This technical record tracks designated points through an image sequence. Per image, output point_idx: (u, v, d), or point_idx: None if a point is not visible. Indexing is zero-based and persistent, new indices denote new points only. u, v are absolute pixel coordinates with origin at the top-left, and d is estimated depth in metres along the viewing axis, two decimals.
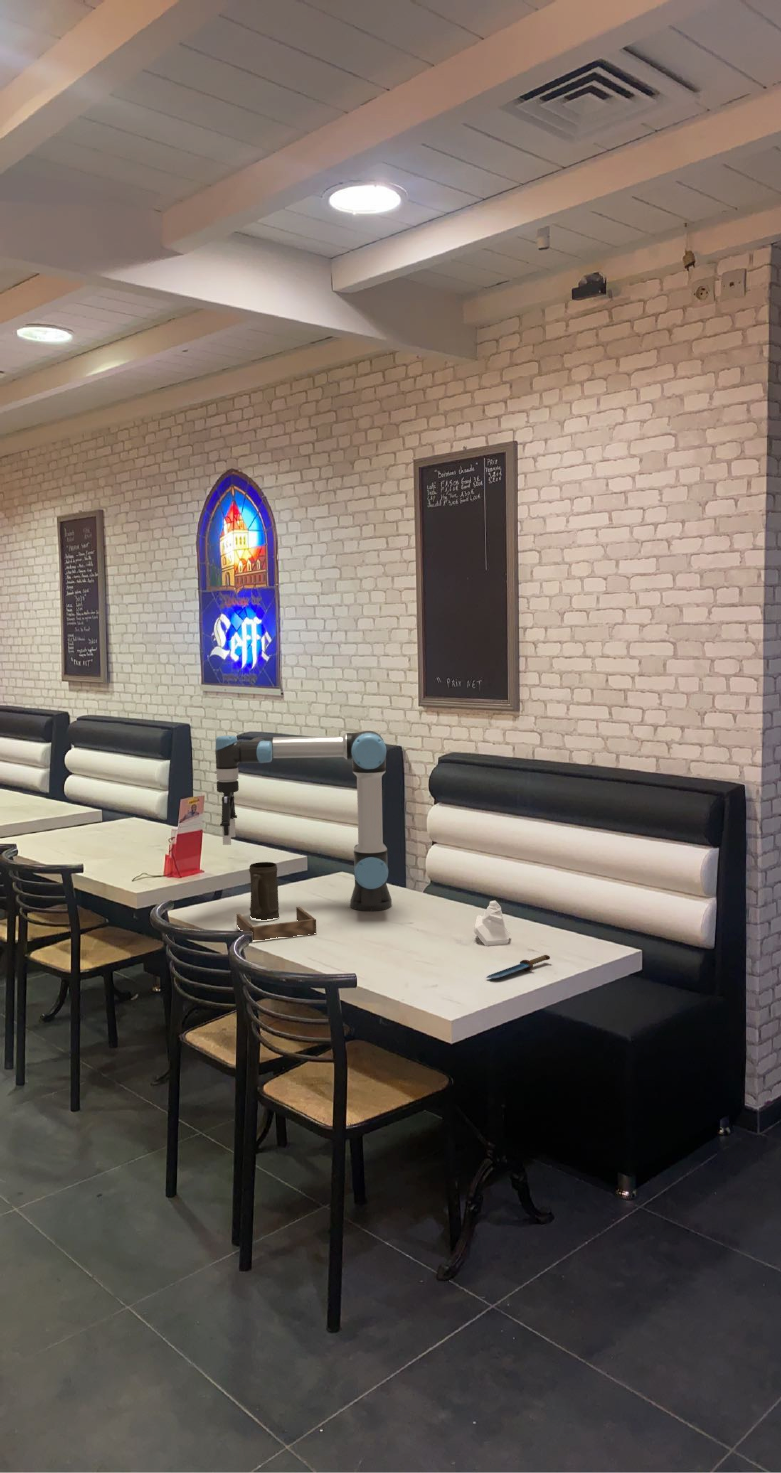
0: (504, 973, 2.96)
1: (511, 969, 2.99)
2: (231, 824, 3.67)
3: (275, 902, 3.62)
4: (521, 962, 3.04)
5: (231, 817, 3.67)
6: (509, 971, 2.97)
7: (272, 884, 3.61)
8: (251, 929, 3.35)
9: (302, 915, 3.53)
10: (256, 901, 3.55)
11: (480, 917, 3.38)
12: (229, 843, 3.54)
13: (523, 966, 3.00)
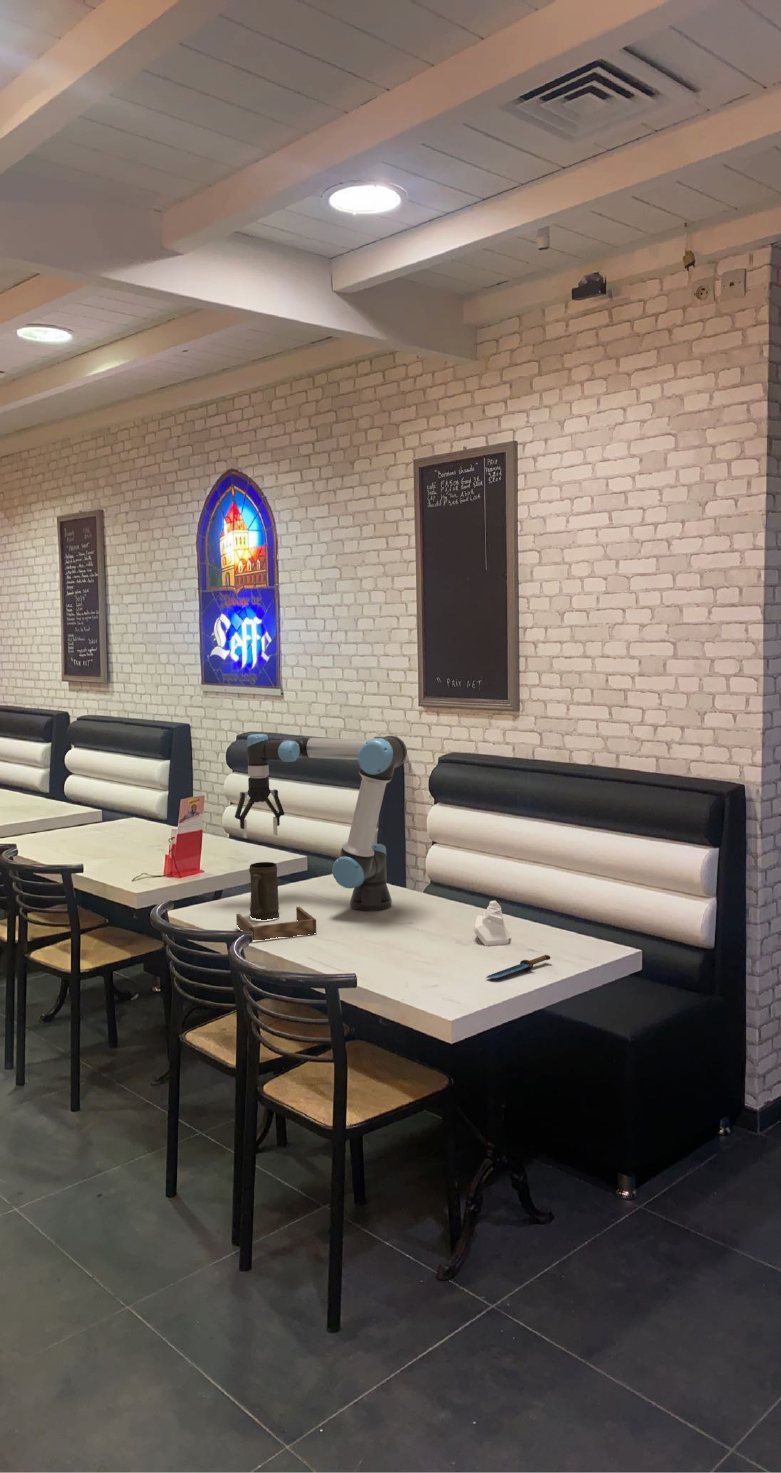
0: (504, 973, 2.96)
1: (511, 969, 2.99)
2: (274, 822, 3.81)
3: (275, 902, 3.62)
4: (521, 962, 3.04)
5: (275, 816, 3.81)
6: (509, 971, 2.97)
7: (272, 884, 3.61)
8: (251, 929, 3.35)
9: (302, 915, 3.53)
10: (256, 901, 3.55)
11: (480, 917, 3.38)
12: (244, 836, 3.76)
13: (523, 966, 3.00)
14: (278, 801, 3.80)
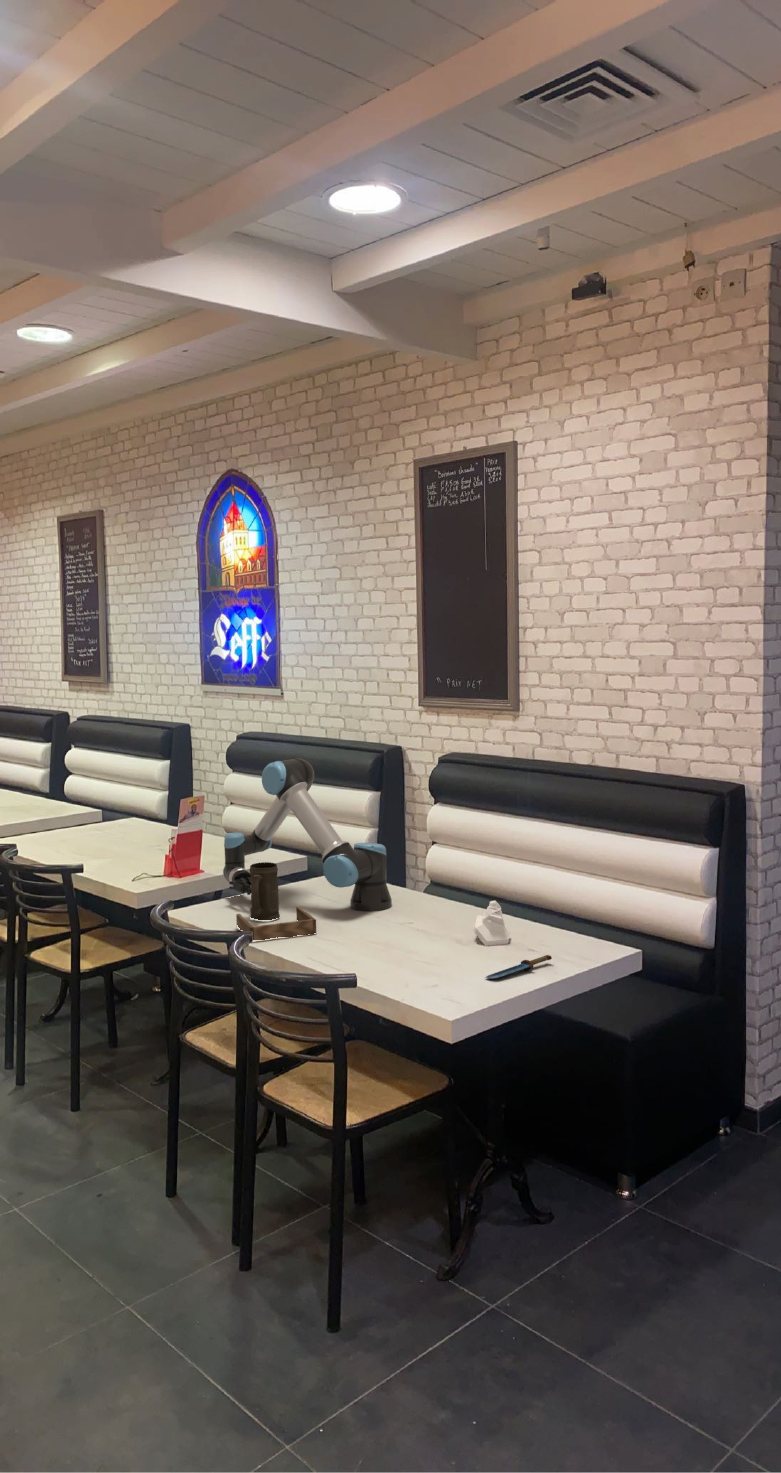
0: (503, 973, 2.96)
1: (511, 969, 2.99)
2: None
3: (276, 902, 3.62)
4: (522, 962, 3.04)
5: None
6: (509, 971, 2.97)
7: (273, 884, 3.60)
8: (251, 929, 3.35)
9: (302, 915, 3.53)
10: (257, 901, 3.54)
11: (480, 917, 3.38)
12: None
13: (523, 966, 3.00)
14: None
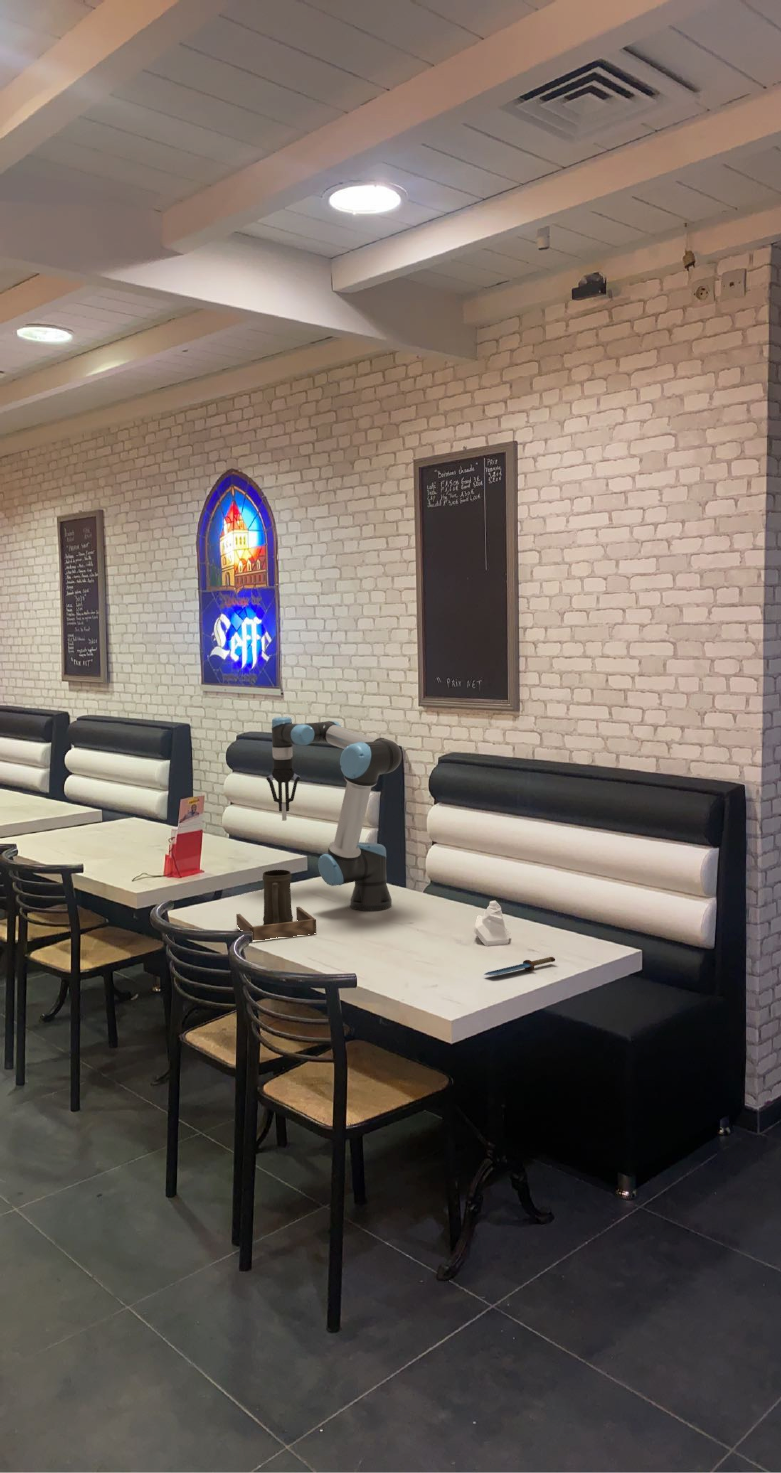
0: (502, 971, 2.97)
1: (511, 968, 2.99)
2: None
3: (290, 910, 3.51)
4: (524, 962, 3.04)
5: None
6: (508, 970, 2.98)
7: (288, 892, 3.49)
8: (251, 929, 3.35)
9: (302, 915, 3.53)
10: (276, 910, 3.42)
11: (480, 917, 3.38)
12: (282, 819, 3.92)
13: (524, 966, 3.00)
14: (294, 787, 3.90)
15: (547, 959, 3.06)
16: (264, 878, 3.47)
